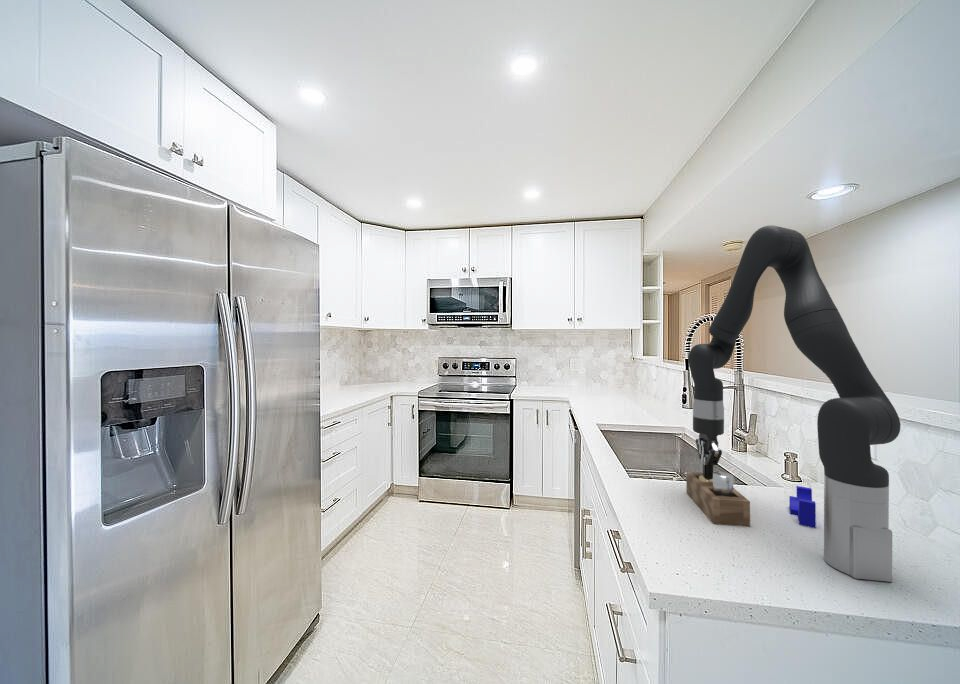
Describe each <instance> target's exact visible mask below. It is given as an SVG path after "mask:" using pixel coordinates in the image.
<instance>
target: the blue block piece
mask: <svg viewBox="0 0 960 684" xmlns="http://www.w3.org/2000/svg"><path fill="white" fill-rule="evenodd" d="M788 499H789V500H788V501H789V505H788V506H789V514H790V515H792V516H797V518H798V519H797V520H798V524H799V525H800V526H804V527H808V526H809V528H814V529H816V523H817V521H816V519H817V517H816V515H817V514H816V512H817V511H816V508H817V507H816V505H817V503H816V501H814V500H813V489H812V487H807V486H805V487H804V486H801V485H800V486H799V485H796V496H793V495H789V498H788Z"/></svg>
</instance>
